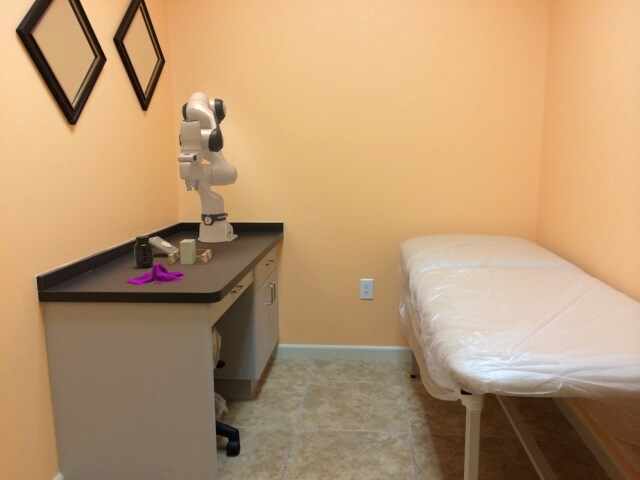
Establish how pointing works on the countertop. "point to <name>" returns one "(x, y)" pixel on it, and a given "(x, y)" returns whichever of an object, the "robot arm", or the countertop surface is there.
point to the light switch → (162, 245)
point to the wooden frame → (200, 253)
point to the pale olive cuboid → (188, 251)
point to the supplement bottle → (143, 252)
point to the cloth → (156, 276)
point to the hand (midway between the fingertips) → (193, 190)
